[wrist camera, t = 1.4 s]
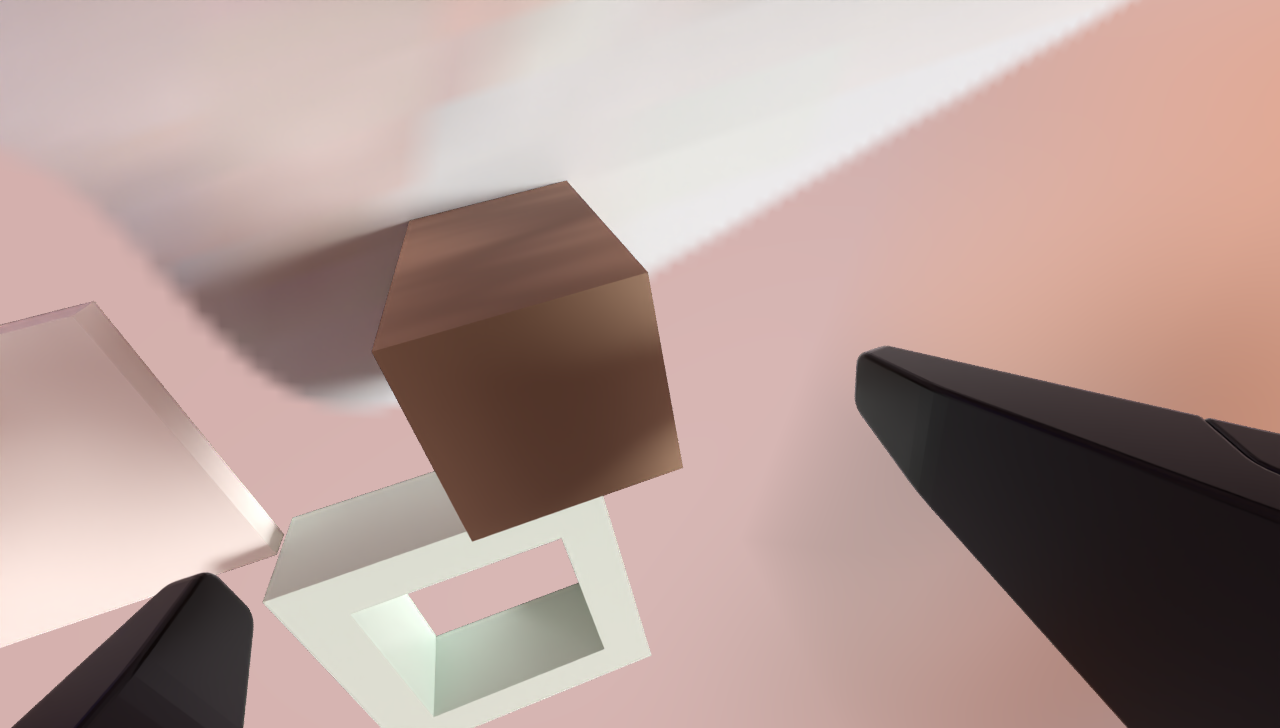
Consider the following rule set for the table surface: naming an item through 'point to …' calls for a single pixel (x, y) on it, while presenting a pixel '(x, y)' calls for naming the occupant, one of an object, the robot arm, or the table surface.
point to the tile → (104, 480)
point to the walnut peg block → (526, 358)
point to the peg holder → (467, 656)
